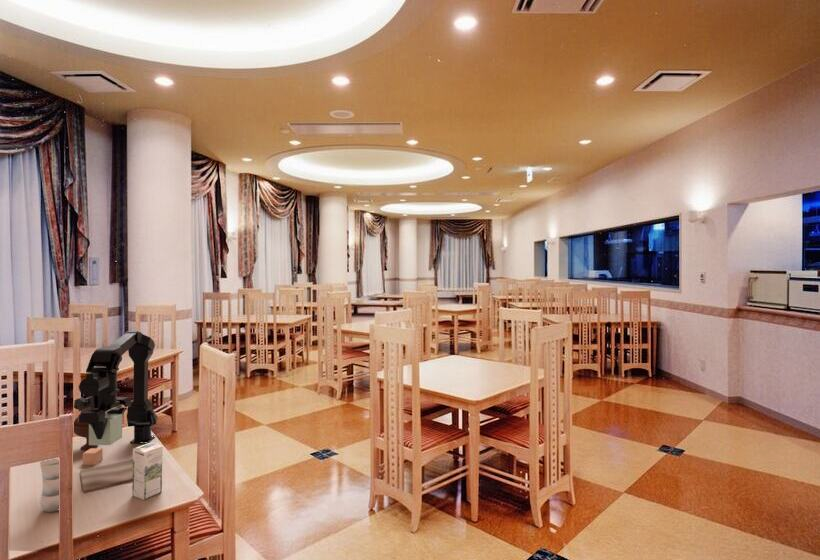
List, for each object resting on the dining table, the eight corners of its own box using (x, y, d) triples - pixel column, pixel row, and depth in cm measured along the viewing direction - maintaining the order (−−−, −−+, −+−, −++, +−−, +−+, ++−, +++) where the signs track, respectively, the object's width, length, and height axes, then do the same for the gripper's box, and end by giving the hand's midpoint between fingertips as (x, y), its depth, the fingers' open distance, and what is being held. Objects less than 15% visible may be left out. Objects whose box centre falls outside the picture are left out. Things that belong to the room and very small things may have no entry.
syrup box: (150, 487, 142) (150, 441, 141) (162, 492, 139) (162, 445, 139) (132, 495, 137) (131, 447, 136) (144, 501, 134) (144, 452, 134)
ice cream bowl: (64, 449, 167) (64, 409, 167) (97, 439, 177) (97, 401, 177) (80, 456, 162) (80, 414, 162) (113, 445, 172) (113, 405, 172)
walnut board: (80, 472, 150) (80, 470, 150) (136, 460, 160) (136, 458, 160) (83, 492, 138) (83, 490, 138) (144, 478, 148) (144, 475, 148)
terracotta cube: (90, 459, 160) (90, 448, 160) (102, 459, 160) (102, 448, 160) (83, 464, 156) (82, 453, 156) (95, 464, 156) (95, 453, 156)
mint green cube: (101, 437, 154) (101, 413, 153) (122, 437, 154) (122, 413, 154) (88, 445, 147) (88, 420, 147) (109, 445, 147) (110, 420, 147)
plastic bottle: (58, 515, 126) (57, 443, 125) (33, 514, 126) (33, 442, 125) (75, 503, 132) (75, 434, 131) (52, 502, 132) (52, 433, 131)
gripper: (99, 380, 159) (98, 425, 159) (60, 395, 140) (60, 446, 141) (132, 380, 159) (131, 425, 160) (97, 395, 141) (97, 446, 141)
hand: (106, 435), depth 150 cm, fingers closed on mint green cube, 7 cm apart
